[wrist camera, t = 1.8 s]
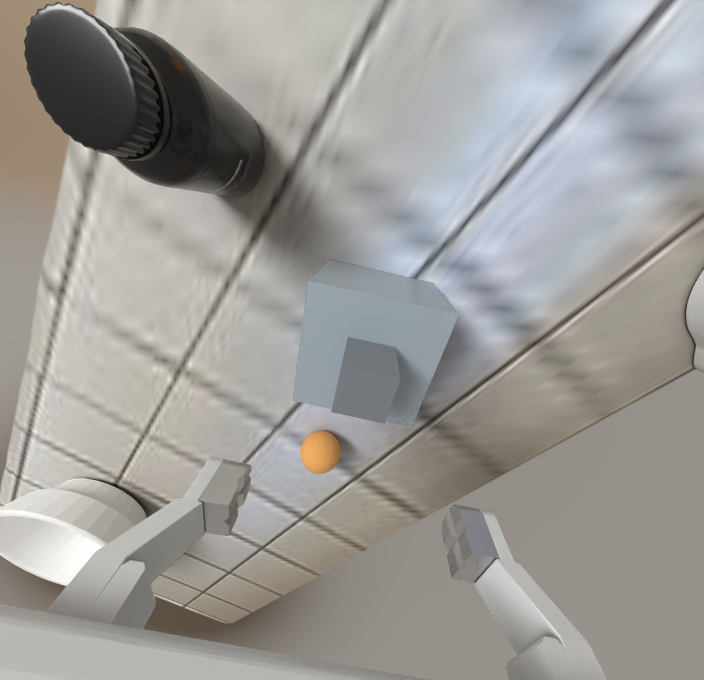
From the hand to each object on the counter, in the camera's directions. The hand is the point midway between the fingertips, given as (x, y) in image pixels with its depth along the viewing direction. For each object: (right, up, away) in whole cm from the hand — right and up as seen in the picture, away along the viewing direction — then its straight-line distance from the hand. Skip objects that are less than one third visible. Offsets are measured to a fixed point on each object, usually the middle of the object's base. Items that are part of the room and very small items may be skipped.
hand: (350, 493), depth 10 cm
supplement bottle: (-10, +22, +11) cm, 27 cm away
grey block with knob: (+2, +8, +17) cm, 19 cm away
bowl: (-44, -23, +37) cm, 62 cm away
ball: (-4, -8, +23) cm, 24 cm away
